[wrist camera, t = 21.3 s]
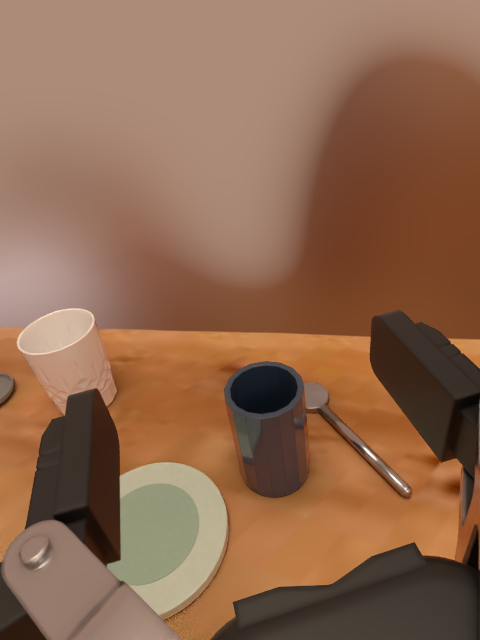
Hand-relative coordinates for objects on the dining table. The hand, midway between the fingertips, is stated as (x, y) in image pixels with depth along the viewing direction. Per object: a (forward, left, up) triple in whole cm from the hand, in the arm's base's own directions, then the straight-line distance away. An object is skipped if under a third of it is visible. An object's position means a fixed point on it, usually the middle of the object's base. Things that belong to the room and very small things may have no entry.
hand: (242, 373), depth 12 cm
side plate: (-5, +14, -26) cm, 29 cm away
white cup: (-6, +34, -26) cm, 43 cm away
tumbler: (+7, +14, -26) cm, 30 cm away
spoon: (+14, +13, -26) cm, 32 cm away
